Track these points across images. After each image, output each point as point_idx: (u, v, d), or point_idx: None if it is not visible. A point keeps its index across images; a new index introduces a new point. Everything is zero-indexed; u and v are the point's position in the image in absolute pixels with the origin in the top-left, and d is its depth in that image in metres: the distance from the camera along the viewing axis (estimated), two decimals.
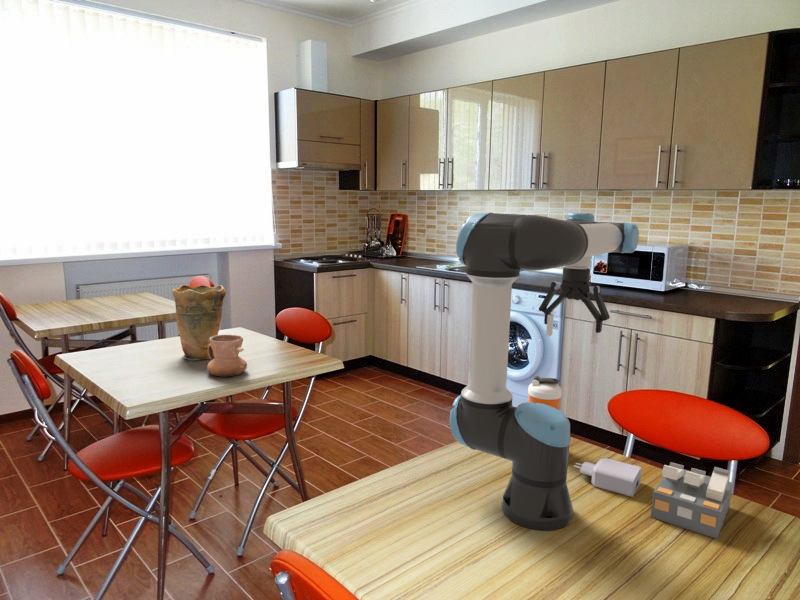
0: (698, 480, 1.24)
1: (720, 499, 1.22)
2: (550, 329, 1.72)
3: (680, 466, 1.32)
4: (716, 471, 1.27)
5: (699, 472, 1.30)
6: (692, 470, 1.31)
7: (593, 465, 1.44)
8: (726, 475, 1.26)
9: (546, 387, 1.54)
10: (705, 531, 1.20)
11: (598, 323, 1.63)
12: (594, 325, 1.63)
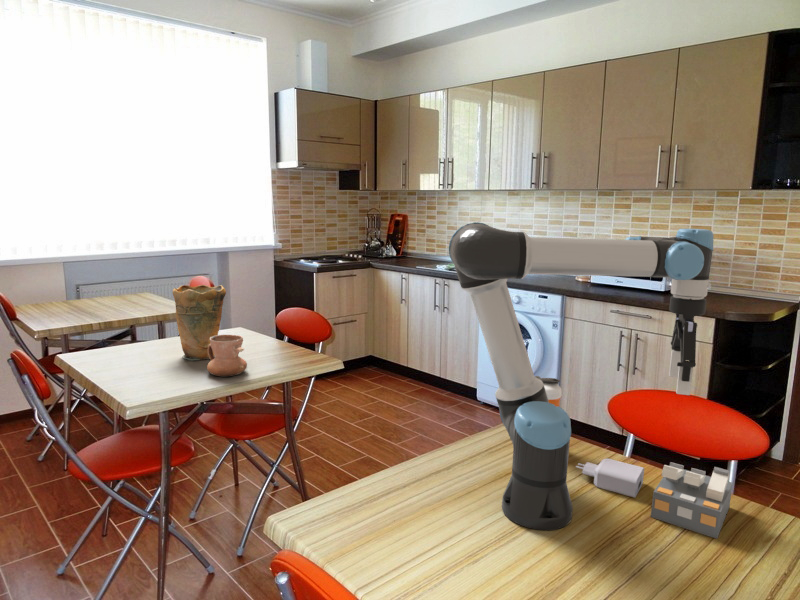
0: (698, 480, 1.24)
1: (720, 499, 1.22)
2: (675, 369, 1.42)
3: (680, 466, 1.32)
4: (716, 471, 1.27)
5: (699, 472, 1.30)
6: (692, 470, 1.31)
7: (595, 466, 1.43)
8: (726, 475, 1.26)
9: (546, 387, 1.54)
10: (705, 531, 1.20)
11: (683, 369, 1.28)
12: (679, 370, 1.29)
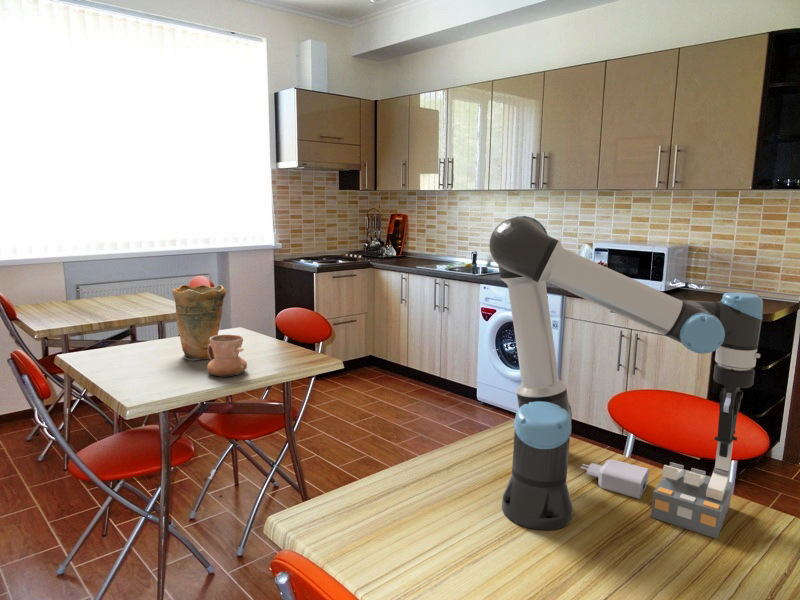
0: (698, 480, 1.24)
1: (720, 498, 1.21)
2: None
3: (680, 466, 1.32)
4: (716, 471, 1.27)
5: (699, 472, 1.30)
6: (692, 470, 1.31)
7: (600, 466, 1.43)
8: (726, 475, 1.26)
9: None
10: (705, 531, 1.20)
11: (720, 443, 1.26)
12: None
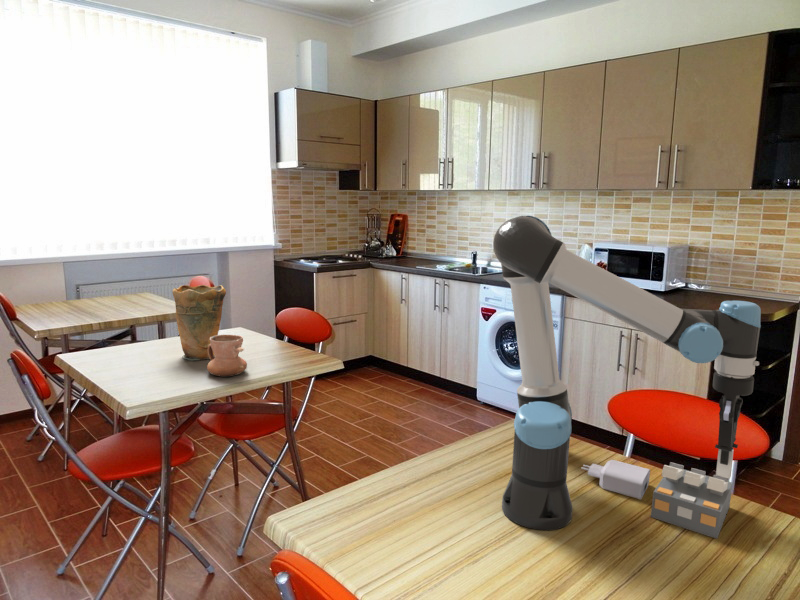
0: (698, 480, 1.24)
1: (721, 489, 1.21)
2: None
3: (680, 466, 1.32)
4: (716, 477, 1.28)
5: (699, 472, 1.30)
6: (692, 470, 1.31)
7: (601, 467, 1.43)
8: (725, 481, 1.27)
9: None
10: (705, 531, 1.20)
11: None
12: None
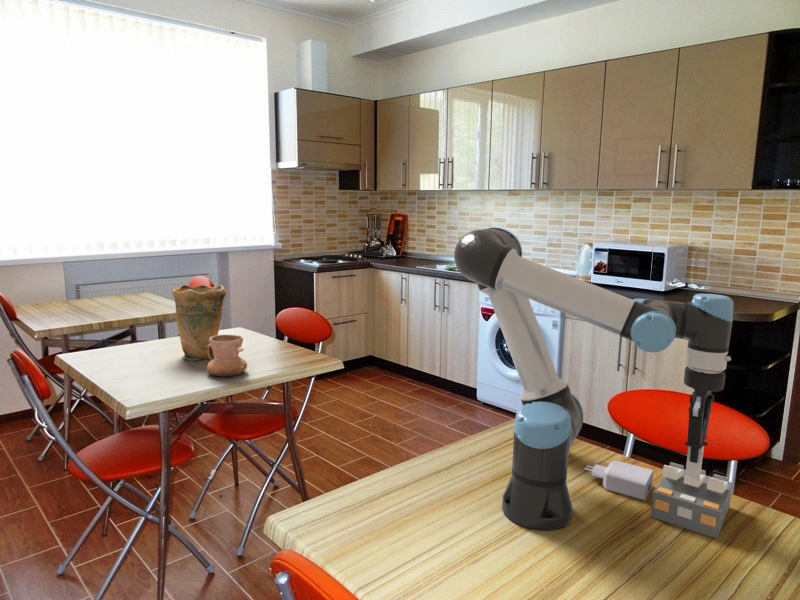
0: (698, 481, 1.24)
1: (721, 490, 1.21)
2: None
3: (680, 466, 1.32)
4: (716, 476, 1.28)
5: None
6: None
7: (604, 468, 1.42)
8: (726, 480, 1.27)
9: None
10: (705, 531, 1.20)
11: (691, 449, 1.23)
12: (688, 449, 1.24)
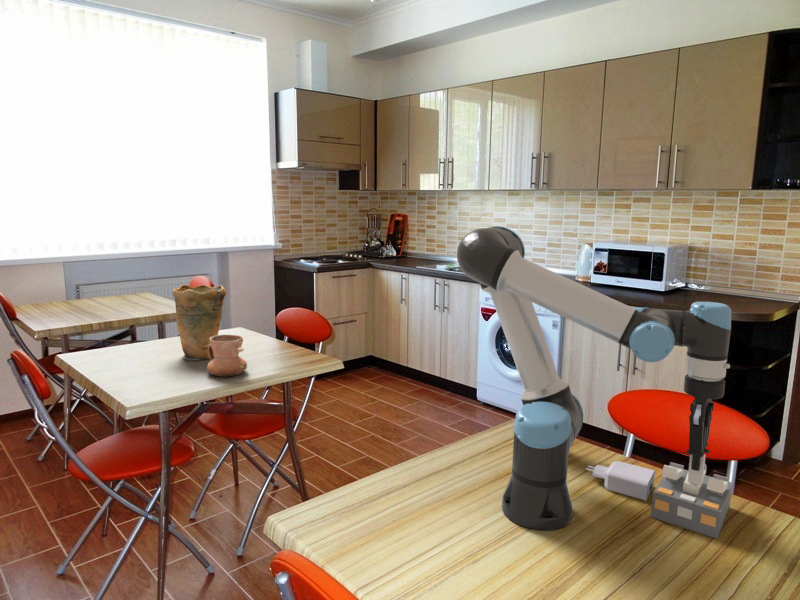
0: (697, 490, 1.24)
1: (721, 490, 1.21)
2: None
3: (680, 466, 1.32)
4: (716, 476, 1.28)
5: None
6: None
7: (606, 468, 1.42)
8: (726, 480, 1.27)
9: None
10: (705, 531, 1.20)
11: None
12: (690, 457, 1.24)
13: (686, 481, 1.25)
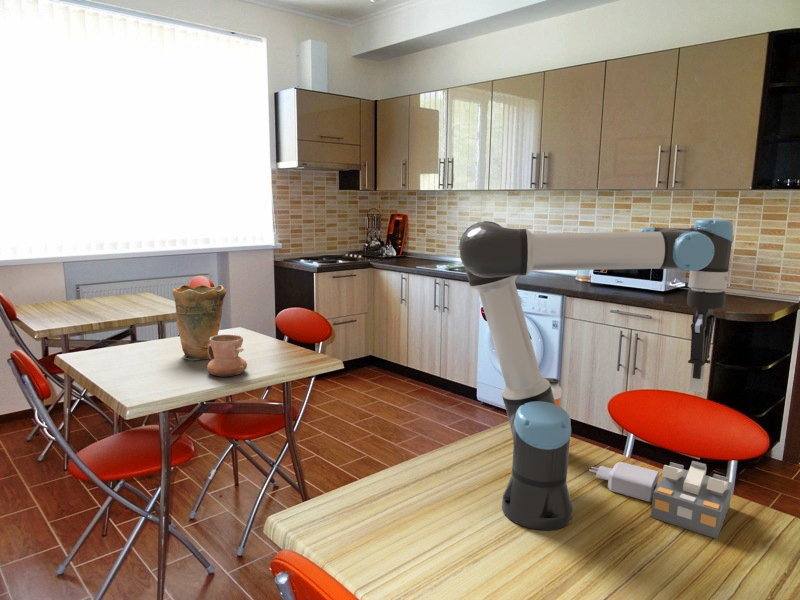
0: (697, 490, 1.24)
1: (721, 490, 1.21)
2: None
3: (680, 466, 1.32)
4: (716, 476, 1.28)
5: (699, 467, 1.29)
6: (692, 465, 1.30)
7: (609, 469, 1.42)
8: (726, 480, 1.27)
9: None
10: (705, 531, 1.20)
11: None
12: None
13: (686, 480, 1.25)
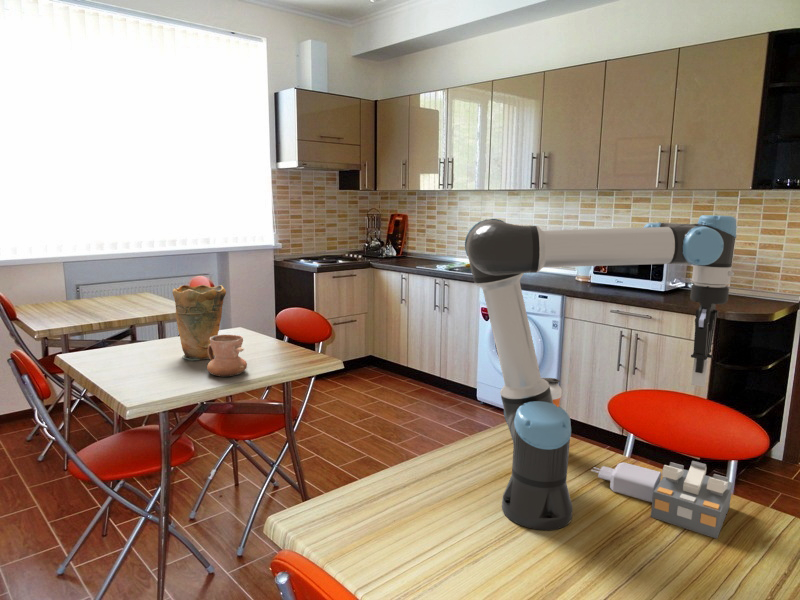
0: (697, 490, 1.24)
1: (721, 490, 1.21)
2: None
3: (680, 466, 1.32)
4: (716, 476, 1.28)
5: (699, 467, 1.29)
6: (692, 465, 1.30)
7: (611, 470, 1.41)
8: (726, 480, 1.27)
9: None
10: (705, 531, 1.20)
11: None
12: (694, 361, 1.34)
13: (686, 480, 1.25)
